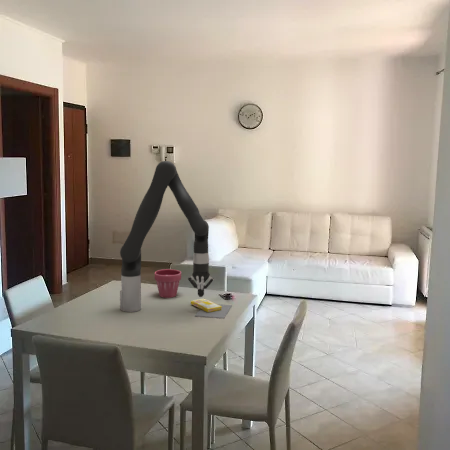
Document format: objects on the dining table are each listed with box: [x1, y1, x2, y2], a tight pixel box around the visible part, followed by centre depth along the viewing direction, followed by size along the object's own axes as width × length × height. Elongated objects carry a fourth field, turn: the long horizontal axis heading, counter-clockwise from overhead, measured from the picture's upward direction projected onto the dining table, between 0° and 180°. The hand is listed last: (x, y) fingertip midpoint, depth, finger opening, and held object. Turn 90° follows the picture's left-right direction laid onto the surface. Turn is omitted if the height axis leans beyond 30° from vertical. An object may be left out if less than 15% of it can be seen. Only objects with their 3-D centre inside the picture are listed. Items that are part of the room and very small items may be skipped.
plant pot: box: [154, 268, 182, 299], centre depth 269 cm, size 14×14×13 cm
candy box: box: [190, 298, 222, 312], centre depth 249 cm, size 16×2×8 cm
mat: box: [194, 303, 233, 319], centre depth 245 cm, size 14×20×1 cm
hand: (200, 296), depth 245 cm, fingers closed
